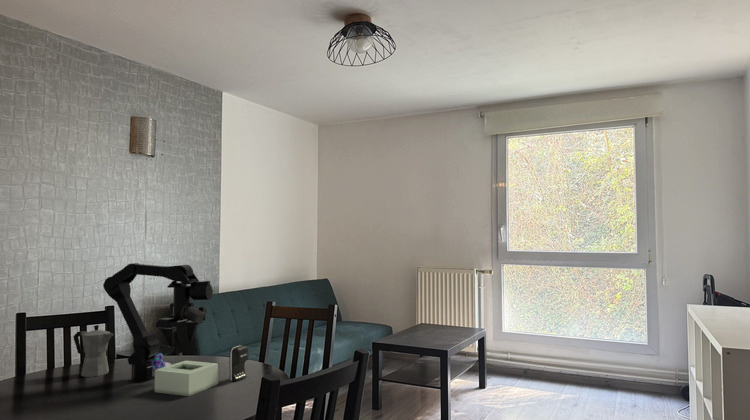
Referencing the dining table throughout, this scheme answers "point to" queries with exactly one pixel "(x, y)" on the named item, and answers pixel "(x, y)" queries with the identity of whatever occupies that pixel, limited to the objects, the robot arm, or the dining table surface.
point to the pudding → (159, 362)
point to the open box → (186, 378)
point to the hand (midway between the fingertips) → (181, 344)
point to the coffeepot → (94, 351)
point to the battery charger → (238, 362)
